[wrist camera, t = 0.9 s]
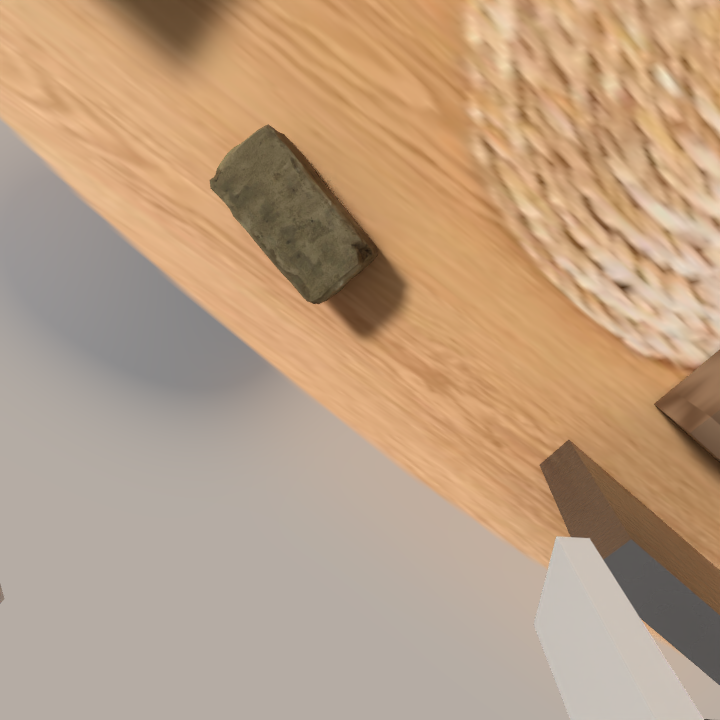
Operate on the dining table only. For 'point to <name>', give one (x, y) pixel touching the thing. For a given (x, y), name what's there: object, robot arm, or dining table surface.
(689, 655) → the backstop wall
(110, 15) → the dining table surface
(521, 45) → the dining table surface
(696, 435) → the walnut bracket
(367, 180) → the dining table surface
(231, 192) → the stone block
